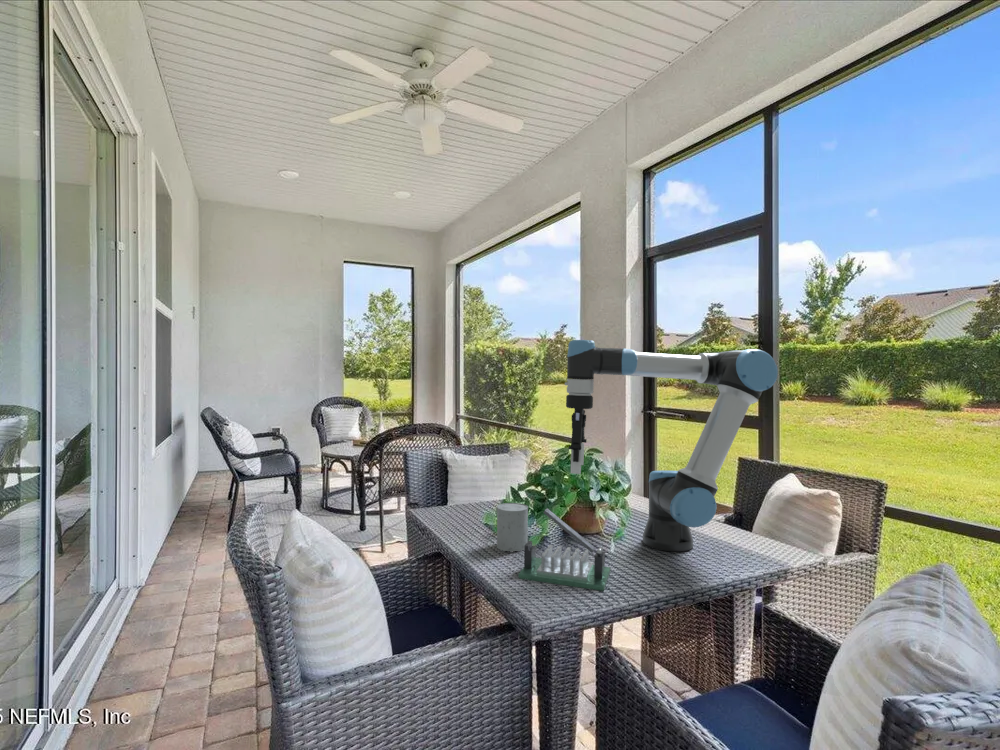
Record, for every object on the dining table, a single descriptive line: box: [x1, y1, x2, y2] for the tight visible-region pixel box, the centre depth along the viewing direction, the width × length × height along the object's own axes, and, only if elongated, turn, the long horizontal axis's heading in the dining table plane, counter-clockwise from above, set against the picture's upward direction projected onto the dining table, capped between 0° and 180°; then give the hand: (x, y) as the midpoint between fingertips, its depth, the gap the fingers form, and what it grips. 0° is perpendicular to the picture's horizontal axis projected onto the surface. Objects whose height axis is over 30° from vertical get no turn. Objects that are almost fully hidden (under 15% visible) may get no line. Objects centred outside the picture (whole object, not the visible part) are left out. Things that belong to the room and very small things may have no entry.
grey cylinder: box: [496, 502, 529, 553], centre depth 160 cm, size 10×10×12 cm
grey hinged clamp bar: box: [543, 507, 604, 556], centre depth 137 cm, size 18×3×2 cm
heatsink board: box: [518, 540, 611, 592], centre depth 138 cm, size 22×13×7 cm, turn 71°
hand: (577, 469), depth 148 cm, fingers open, 13 cm apart
